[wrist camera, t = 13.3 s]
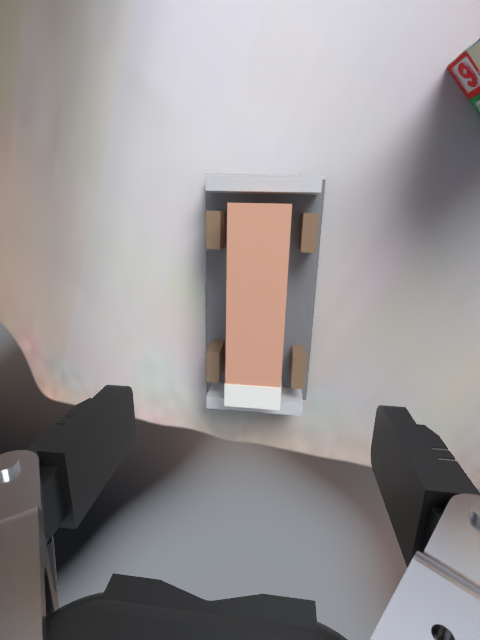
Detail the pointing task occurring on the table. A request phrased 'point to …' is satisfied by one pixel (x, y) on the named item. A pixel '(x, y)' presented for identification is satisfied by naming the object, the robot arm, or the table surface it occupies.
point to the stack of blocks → (468, 72)
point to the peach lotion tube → (256, 303)
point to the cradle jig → (300, 283)
